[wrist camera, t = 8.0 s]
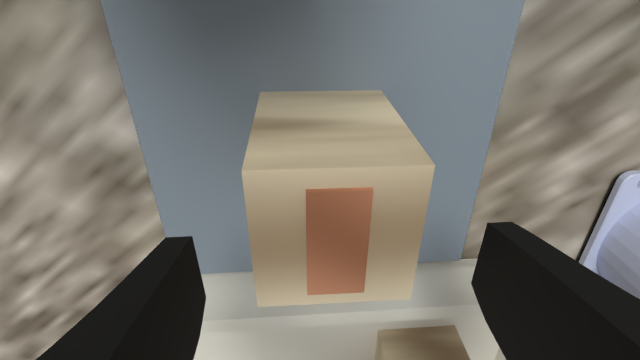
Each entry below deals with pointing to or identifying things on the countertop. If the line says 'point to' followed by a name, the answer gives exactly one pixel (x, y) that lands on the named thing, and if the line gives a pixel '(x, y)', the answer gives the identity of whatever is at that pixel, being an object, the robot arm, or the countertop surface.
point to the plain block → (420, 344)
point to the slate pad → (305, 75)
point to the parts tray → (339, 319)
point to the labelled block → (333, 198)
